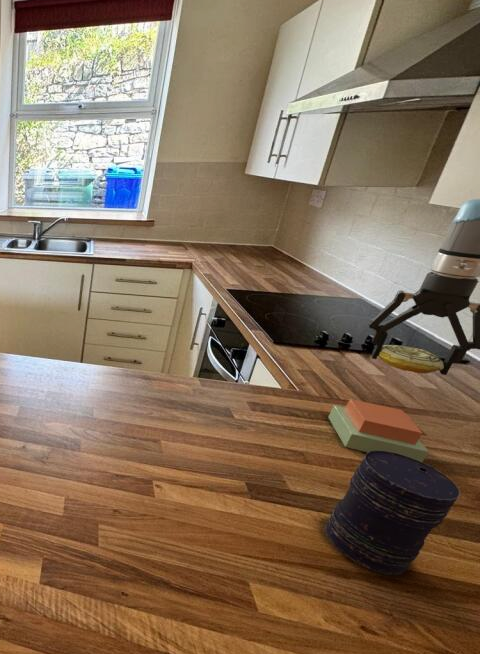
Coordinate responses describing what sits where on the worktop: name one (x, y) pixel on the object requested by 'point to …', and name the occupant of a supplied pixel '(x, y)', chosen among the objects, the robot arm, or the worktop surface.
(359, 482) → the dark blue cylinder
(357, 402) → the stack top
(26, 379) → the worktop surface
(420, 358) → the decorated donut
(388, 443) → the stack base
